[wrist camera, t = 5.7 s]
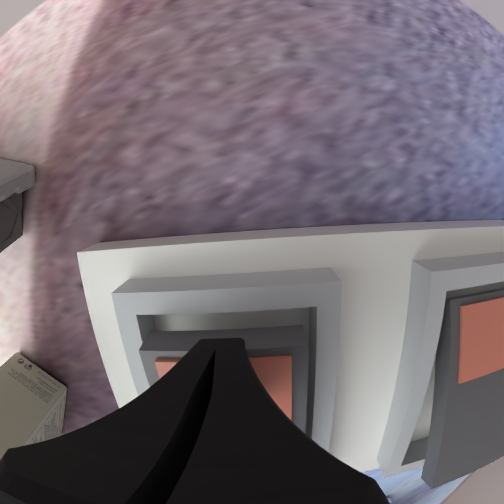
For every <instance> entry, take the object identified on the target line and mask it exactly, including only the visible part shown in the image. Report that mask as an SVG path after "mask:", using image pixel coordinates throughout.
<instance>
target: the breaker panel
mask: <svg viewBox="0 0 504 504" xmlns="http://www.w3.org/2000/svg"><path fill="white" fill-rule="evenodd" d="M77 256H78V262H79V267H80V272H81V278H82V283H83V287H84V292H85V297H86V301H87V305H88V309H89V314H90V318H91V321H92V325H93V329H94V333H95V336H96V340H97V344H98V347H99V350H100V354H101V357H102V360H103V363H104V367H105V370H106V373H107V376H108V379H109V382H110V384H111V387H112V390H113V393H114V396H115V398H116V401H117V404H118V406H119V408H121V407H123V406H124V405H126V404H127V403H129V402H130V401H132V400H133V399H135V398H136V397H138V396H139V395H140V394H142V393H143V392H144V391H146V390H147V389H148V388H149V387H150V386H149V383H148V380H147V377H146V374H145V370H144V367H143V364H142V360H141V357H140V354H139V349H140V347H141V345H142V343H143V342H144V340H145V338H146V336H147V335H148V333H149V331H192V330H225V329H247V328H264V327H279V326H293V325H303V327H304V330H305V334H306V337H307V341H308V344H309V353H308V383H307V405H306V423H305V434H306V435H307V436H309V437H310V438H311V439H312V440H313V441H315V442H316V443H317V444H318V445H319V446H321V447H322V448H323V449H325V450H326V451H328V452H329V453H330V454H332V455H333V456H335V457H336V458H338V459H339V460H341V461H342V462H344V463H346V464H347V465H349V466H350V467H352V468H354V469H356V470H357V471H359V472H364V471H369V470H373V469H378V468H380V469H381V472H382V474H383V477H384V478H385V477H389V476H393V475H396V474H400V473H403V472H407V471H410V470H413V469H417V468H420V467H423V466H424V462H425V456H426V450H427V444H428V438H429V431H430V423H431V415H432V405H433V395H434V381H435V361H436V351H437V346H438V341H439V336H440V330H441V325H442V319H443V313H444V306H445V299H446V298H450V297H456V296H461V295H467V294H473V293H478V292H483V291H489V290H494V289H499V288H504V220H466V221H434V222H406V223H382V224H360V225H340V226H321V227H303V228H286V229H270V230H254V231H239V232H224V233H210V234H197V235H184V236H171V237H158V238H146V239H134V240H123V241H111V242H100V243H97V244H94V245H92V246H90V247H88V248H85V249H83V250H81V251H79V252H77Z"/></svg>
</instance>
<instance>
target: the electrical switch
mask: <svg viewBox="0 0 504 504" xmlns="http://www.w3.org/2000/svg"><path fill="white" fill-rule="evenodd" d="M34 184H35V167H34V166H33V165H30V164H26V163H21V162H16V161H12V160H7V159H2V158H0V253H1V252H2V251H3V250H4V249H5V248H7V247H8V246H9V245H11V244H12V243H13V242H14V241H16V240H17V239H18V238H20V237H21V236H22V235H23V231H22V219H21V212H22V205H23V204H22V192H23V191H25V190H27V189H29V188H32V187H34Z"/></svg>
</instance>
